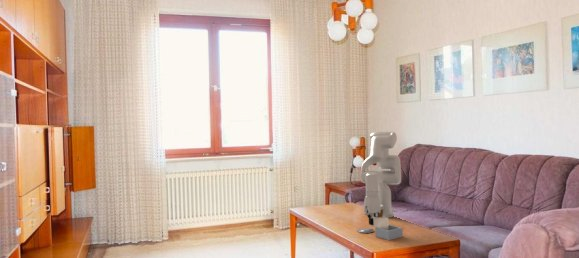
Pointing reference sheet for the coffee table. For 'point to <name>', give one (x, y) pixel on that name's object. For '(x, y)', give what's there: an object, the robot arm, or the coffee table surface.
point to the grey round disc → (365, 230)
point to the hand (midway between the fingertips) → (373, 224)
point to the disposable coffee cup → (381, 211)
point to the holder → (389, 232)
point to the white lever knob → (381, 222)
